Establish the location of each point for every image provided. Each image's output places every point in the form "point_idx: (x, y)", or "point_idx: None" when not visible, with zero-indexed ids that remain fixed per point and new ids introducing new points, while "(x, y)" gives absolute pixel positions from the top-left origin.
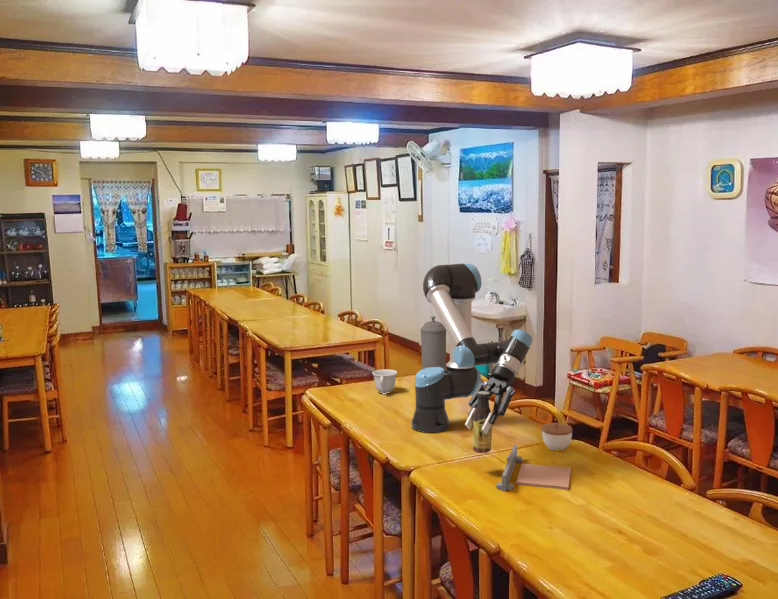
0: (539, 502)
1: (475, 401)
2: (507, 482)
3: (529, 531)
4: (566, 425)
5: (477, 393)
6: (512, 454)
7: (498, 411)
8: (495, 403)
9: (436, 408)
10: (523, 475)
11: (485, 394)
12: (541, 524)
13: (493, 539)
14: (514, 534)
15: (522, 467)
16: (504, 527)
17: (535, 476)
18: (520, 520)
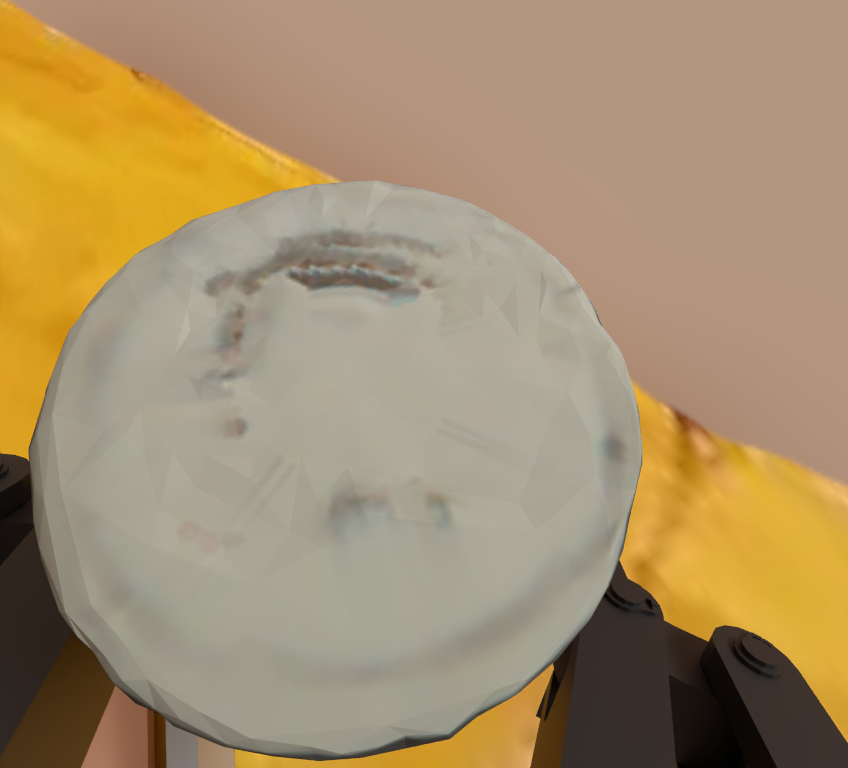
0: (13, 352)
1: (661, 694)
2: None
3: (47, 154)
4: None
5: (557, 285)
6: (176, 743)
7: (24, 468)
8: (32, 613)
9: None
10: None
11: (189, 228)
12: (4, 201)
13: (157, 92)
14: (97, 128)
15: (135, 745)
16: (136, 150)
17: None
18: (86, 201)
